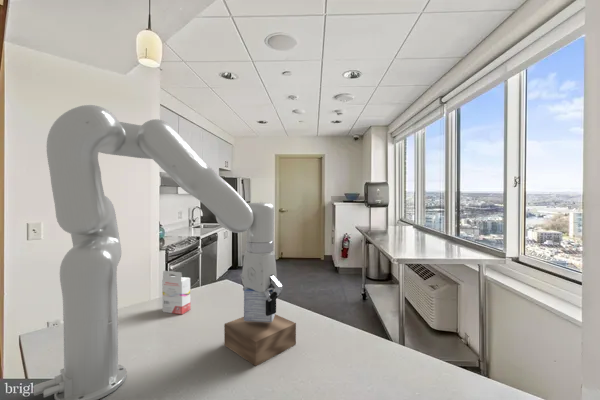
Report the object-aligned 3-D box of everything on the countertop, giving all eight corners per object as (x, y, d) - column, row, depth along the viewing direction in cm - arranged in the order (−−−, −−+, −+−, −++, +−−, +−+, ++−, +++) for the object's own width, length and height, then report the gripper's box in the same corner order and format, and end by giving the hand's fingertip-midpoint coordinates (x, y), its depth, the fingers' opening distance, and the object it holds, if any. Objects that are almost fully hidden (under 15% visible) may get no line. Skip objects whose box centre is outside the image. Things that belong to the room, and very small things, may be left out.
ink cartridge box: (191, 309, 104) (191, 269, 104) (181, 315, 99) (181, 272, 99) (171, 306, 106) (171, 267, 106) (161, 312, 102) (161, 270, 101)
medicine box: (275, 316, 81) (275, 285, 81) (272, 323, 77) (272, 291, 77) (247, 314, 82) (248, 284, 82) (243, 321, 78) (243, 290, 77)
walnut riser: (255, 366, 70) (255, 341, 70) (224, 345, 79) (224, 323, 79) (295, 344, 80) (295, 323, 80) (263, 328, 89) (263, 309, 89)
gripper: (230, 245, 82) (230, 304, 83) (270, 253, 70) (269, 323, 71) (251, 242, 88) (251, 297, 88) (291, 249, 76) (291, 314, 76)
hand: (259, 309), depth 79 cm, fingers closed on medicine box, 9 cm apart
